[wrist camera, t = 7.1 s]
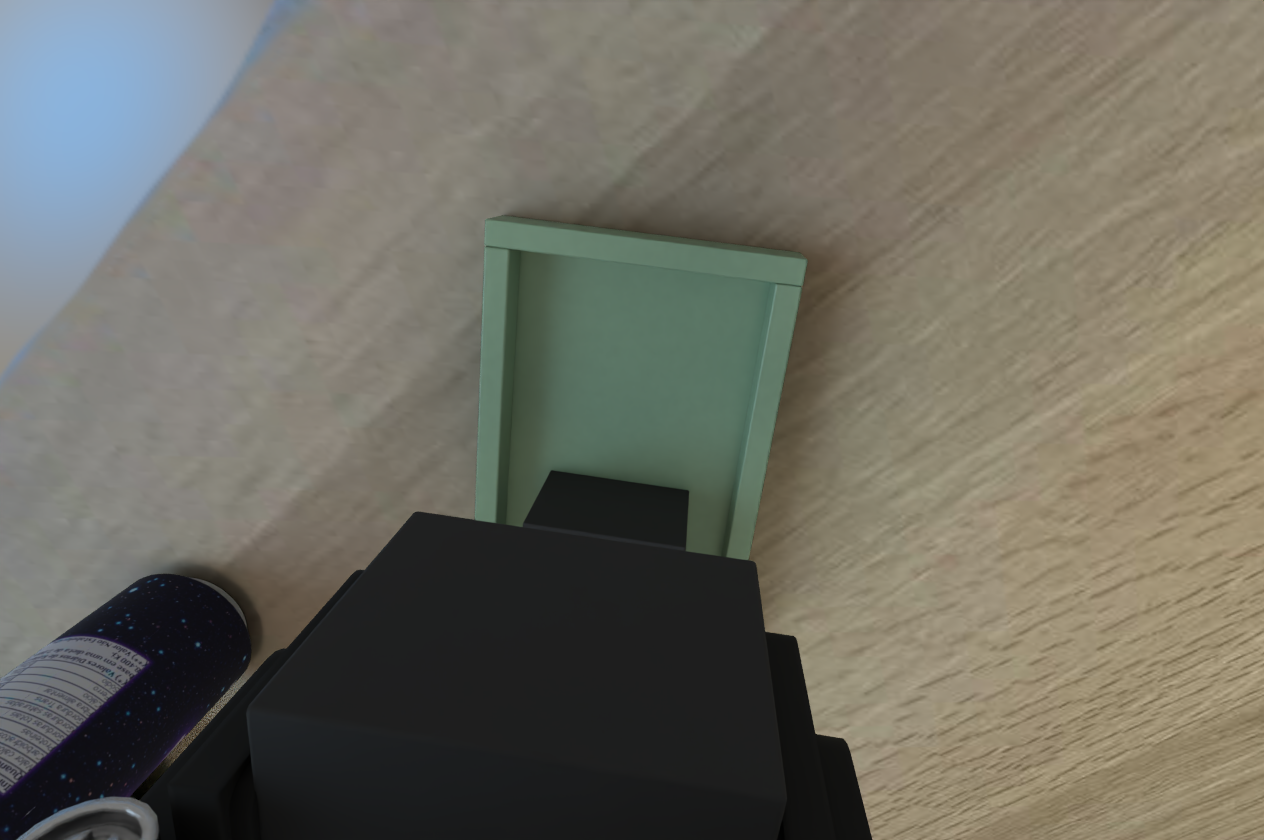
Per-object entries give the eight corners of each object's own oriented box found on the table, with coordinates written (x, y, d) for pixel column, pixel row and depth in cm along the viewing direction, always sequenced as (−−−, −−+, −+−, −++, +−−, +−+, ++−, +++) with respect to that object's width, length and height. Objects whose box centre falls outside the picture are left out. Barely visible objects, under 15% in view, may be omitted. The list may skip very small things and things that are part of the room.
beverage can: (116, 622, 30) (-244, 896, 18) (169, 536, 28) (-194, 782, 17) (228, 696, 30) (-51, 1002, 19) (288, 617, 29) (17, 905, 17)
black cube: (414, 509, 10) (242, 709, 6) (756, 559, 10) (790, 800, 6) (414, 768, 12) (278, 1047, 8) (705, 817, 11) (706, 1129, 8)
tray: (501, 214, 22) (484, 218, 20) (800, 252, 22) (808, 259, 20) (483, 625, 28) (469, 655, 26) (720, 664, 27) (721, 696, 25)
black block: (550, 469, 25) (522, 522, 21) (689, 489, 24) (686, 547, 21) (541, 587, 26) (513, 656, 23) (671, 608, 26) (665, 681, 22)
